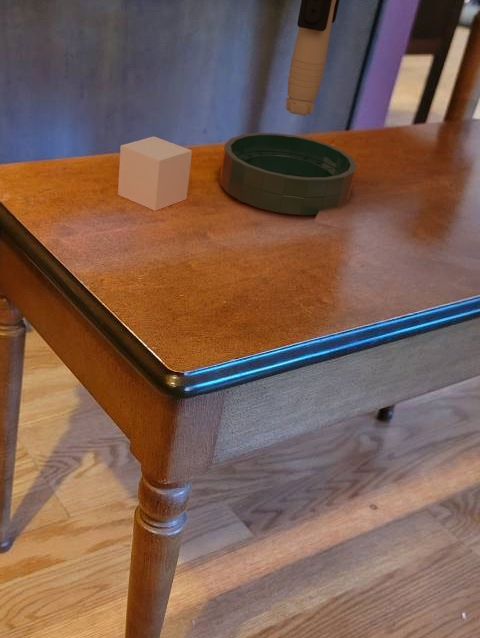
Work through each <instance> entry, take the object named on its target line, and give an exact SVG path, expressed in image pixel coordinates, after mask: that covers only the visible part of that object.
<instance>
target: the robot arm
mask: <svg viewBox="0 0 480 638" xmlns="http://www.w3.org/2000/svg"><path fill="white" fill-rule="evenodd" d="M331 3H332V0H301V1H300V7H299V10H298V11H299V12H298V17H297V22H296V24H297V27H298V28H299V27H301V28H306V29H312V30H317V31H324V30H325V29H326V27H327V23H328V18H329V13H330V8H331ZM339 4H340V0H336V3H335V6H334V12H333V18H332V24H334V23H335V21H336V19H337V14H338V9H339Z"/></svg>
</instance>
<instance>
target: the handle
mask: <svg viewBox="0 0 480 638" xmlns="http://www.w3.org/2000/svg"><path fill="white" fill-rule="evenodd" d="M335 3H336V0H332V3H331V8H330V13H329V18H328V23H327V27H326V29H325V30H324V31H317V30H312V29H306V28H301V27H298V31H297V35H296V38H295V39H296V40H295V44H294V47H293V52H292V55H291V60H290V66H289V72H288V79H287V81H288V82H287V96H288V97H287V98H286V100H285V109H286V111H288V112H289V113H290V114H291V115H300V116H307V115H311V114H312V113H313V111H314V108H315V106H316V105H315V104H316V103H315V102H314V101H315V100H316V99H317V96H318V94H319V91H320V87H321V83H322V80H323V75H324V73H325V67H326V62H327V56H328V49H329V43H330V36H331V30H332V24H333V23H332V18H333V12H334V6H335Z"/></svg>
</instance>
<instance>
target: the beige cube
mask: <svg viewBox="0 0 480 638" xmlns="http://www.w3.org/2000/svg"><path fill="white" fill-rule="evenodd" d="M119 152H120V153H119V168H118V169H119V171H118V187H117V195H118V196H120V197H122V198H124V199H126V200H129V201H132V202H134V203H135V204H138V205H140V206H143V207H145V208H147V209H150V210H152V211H154V212H156V211H158V210H161V209H164V208H167V207H169V206H172V205H174V204H178V203H180V202H182V201H185V200H188V199H187V198H188V192H189V191H188V190H189V181H190V175H191V174H190V172H191V165H192V155H193V149H189V148H186V147H184V146H182V145H178V144H176V143H173V142H170V141H167V140H165V139H162V138H159V137H157V136H150V137H147V138H142V139H140V140H135V141H131V142H129V143H125V144H121V145H120V151H119Z"/></svg>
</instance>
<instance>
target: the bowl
mask: <svg viewBox="0 0 480 638" xmlns="http://www.w3.org/2000/svg"><path fill="white" fill-rule="evenodd" d="M357 169H358V164H357V163H356V161H355V158H354V157H353V156H351V155H349V154H348V153H347V152H345V151H344V150H343V149H340V148H338V147H336V146H334V145H332V144H329V143H326V142H323V141H320V140H316V139H314V138H310V137H304V136H299V135H293V134H287V133H286V134H285V133H275V132H255V133H254V132H253V133H245V134H243V133H242V134H240V135H237V136H234V137H231V138H229V140H227V142H225V143H224V147H223V153H222V161H221V168H220V174H219V182H220V183H219V184H220V186H221V188H222V189H223V190H224V191H225V192H226V193H227V194H228V195H229V196H231V197H232V198H234V199H236V200H238V201H239V202H242V203H244V204H247V205H249V206H252V207H255V208H258V209H261V210H266V211H270V212H275V213H279V214H286V215H287V214H288V215H295V216H296V215H297V216H315V215H316V216H318V214H319V212H320V211H324V210H329V209H332V208H333V209H334V208H338V207H340V206H341V205H343V204H345V203H347V202H348V200H349V198H350V195H351V191H352V188H353V185H354V179H355V175H356V172H357Z"/></svg>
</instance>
